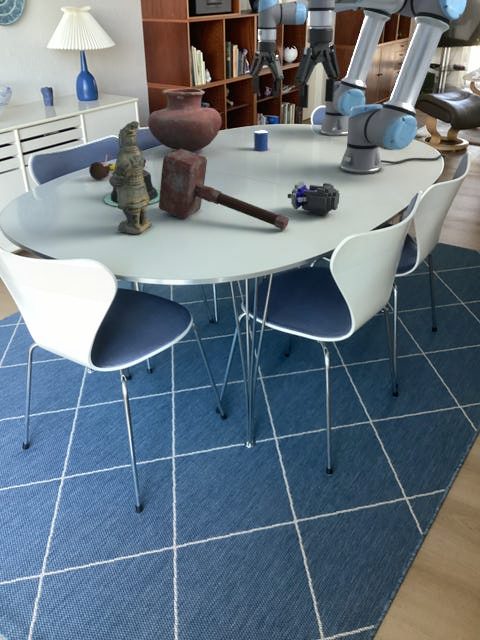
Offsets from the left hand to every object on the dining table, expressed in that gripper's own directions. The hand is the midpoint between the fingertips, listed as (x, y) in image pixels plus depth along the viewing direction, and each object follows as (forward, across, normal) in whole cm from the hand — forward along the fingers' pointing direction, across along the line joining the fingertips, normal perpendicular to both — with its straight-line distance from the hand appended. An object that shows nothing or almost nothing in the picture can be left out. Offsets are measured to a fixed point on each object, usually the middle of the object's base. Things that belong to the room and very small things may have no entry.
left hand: (265, 95), depth 241 cm
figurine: (+22, +1, -73) cm, 76 cm away
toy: (+20, +81, -47) cm, 96 cm away
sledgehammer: (+21, +69, -72) cm, 102 cm away
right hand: (-8, +67, -34) cm, 76 cm away
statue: (+22, +58, -96) cm, 114 cm away
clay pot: (+21, -11, -35) cm, 42 cm away
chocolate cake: (+22, +32, -82) cm, 91 cm away
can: (+20, +8, -8) cm, 23 cm away
